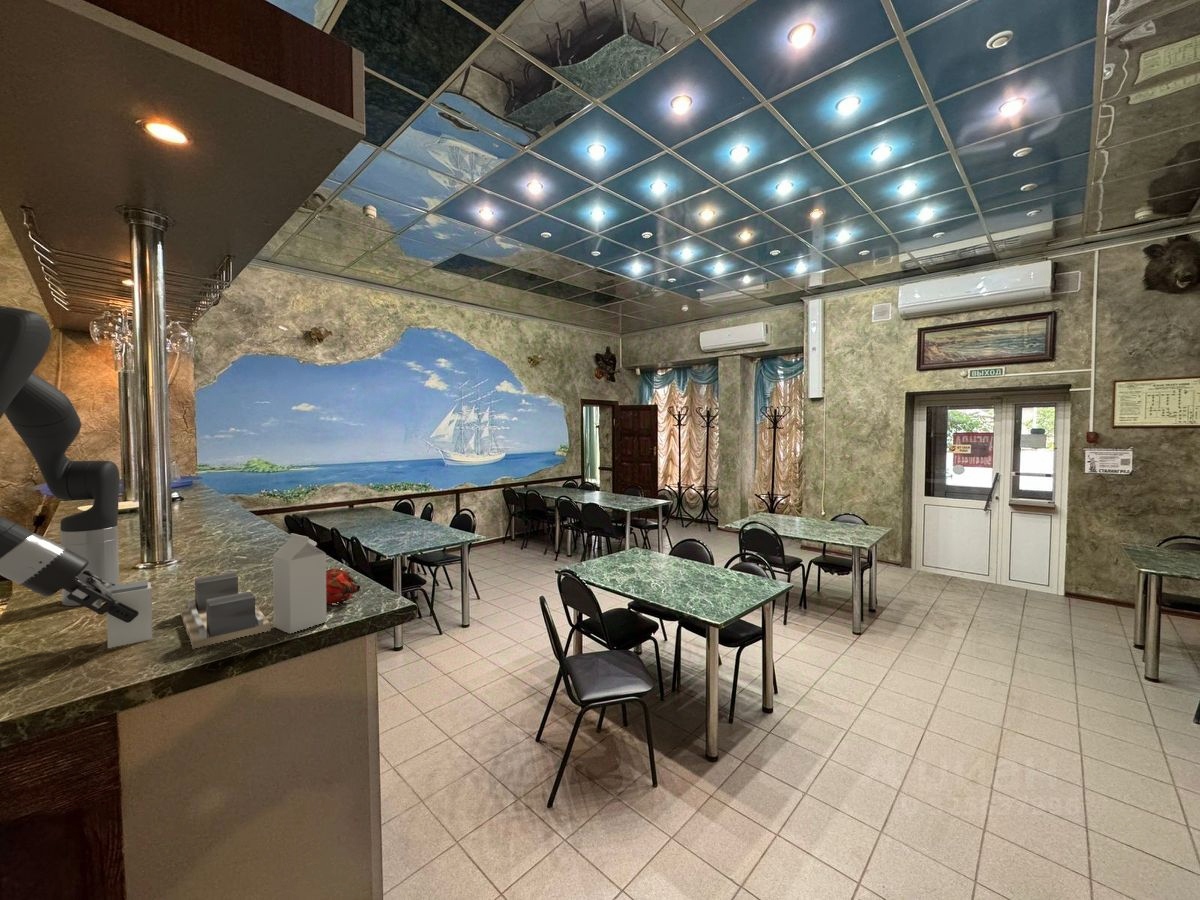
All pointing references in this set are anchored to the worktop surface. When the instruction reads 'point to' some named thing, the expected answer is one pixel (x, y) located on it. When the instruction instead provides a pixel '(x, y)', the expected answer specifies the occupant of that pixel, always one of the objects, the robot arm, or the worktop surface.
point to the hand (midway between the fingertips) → (133, 611)
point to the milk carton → (299, 585)
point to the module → (141, 625)
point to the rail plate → (221, 612)
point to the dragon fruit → (339, 585)
